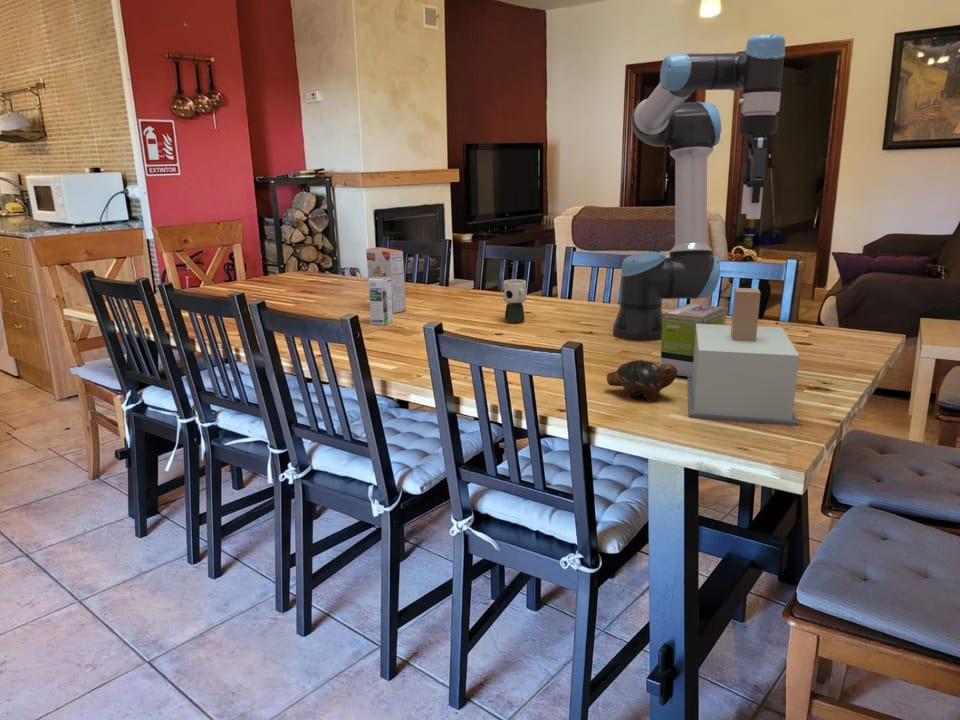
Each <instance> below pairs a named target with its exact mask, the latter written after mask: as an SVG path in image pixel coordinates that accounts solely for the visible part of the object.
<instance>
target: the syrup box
mask: <svg viewBox="0 0 960 720" xmlns="http://www.w3.org/2000/svg"><path fill="white" fill-rule="evenodd" d="M367 279H368V278H367ZM367 281H368V283H367V284H368V287H367V288H368V299H369V300H368V301H369V315H370V317H369V320H370V322H369V323H370V325H371V326H372V325H376V326H379V325H380V326H381V325H382V326H387V325H389V324H391V323H393V322H394V317H393V316H394V314H393V311H392V290H391V277H372V278H370V279H368V280H367Z"/></svg>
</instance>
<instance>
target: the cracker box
mask: <svg viewBox="0 0 960 720" xmlns="http://www.w3.org/2000/svg"><path fill="white" fill-rule="evenodd" d="M365 251H366V264H367V265H366V267H367V279H370V278H372V277H391V290H392V311H393V315H395V314H397V313H398V314H399V313H403V312H406V311H407V304H406V303H407V301H406V286H405V266H404V264H405V263H404V251H403V250H399V249H391V248H385V247H382V246H381V247H379V246H378V247H370V248H366V249H365Z"/></svg>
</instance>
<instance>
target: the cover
mask: <svg viewBox="0 0 960 720" xmlns="http://www.w3.org/2000/svg"><path fill="white" fill-rule="evenodd" d="M733 294H734V295H733V304H732V306H733V307H732V316H731V317H732V318H731V324H725V325H715V324H696V331H695V344H694V358H693V372H692V387H693V403H694V413H697V414H710V415H724V416H737V417H750V418H763V419H777V420H790V421H792V414H793V412H794V405H795V398H796V397H795V396H796V388H797V379H798V372H799V361H800V354H799V352H798V351H797V350H796V347H795V346H794V344H793V342H792V341H791V340H790V337H789V336H788V334H787V333H786V331H785V329H784V327H779V326H776V327H775V326H759V325H758V322H759V314H760V304H761V303H760V302H761V290H760V289H759V288H753V287H751V288H749V287H734V293H733Z"/></svg>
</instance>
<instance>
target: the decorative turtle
mask: <svg viewBox="0 0 960 720" xmlns="http://www.w3.org/2000/svg"><path fill="white" fill-rule="evenodd" d="M677 376H678V375H677V369H676V367H675V366H673V365H671V364H662V365H661V366H659V365H658V364H656V363H654V362H652V361H647V360H641V359H640V360H631V361H628V362H626V363H623V364H622V365H620V366H619V367H617V369H616V371H613V372H609V373H607V375H606V382H607V384H608V385H609V386H612V387H614V386H615V387H623V388H624V390H625V394H626V396H627V397H628V398H629V399H634V398H636V397H637V396H638V395H640V394H643V396H644V397H645V399H646V400H647V401H649V402H653V401H655V399H656V398H657V396H658V394H659V393H660V392H661V391H662V390H663V389H665V388H667V387H668V386H670V385H672V383H673V382H674V381H675V380H676V378H677Z"/></svg>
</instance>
